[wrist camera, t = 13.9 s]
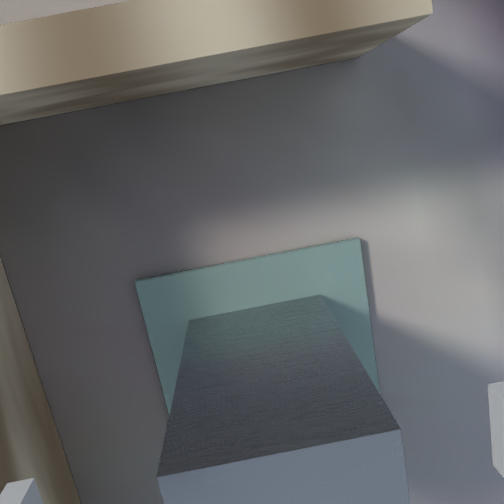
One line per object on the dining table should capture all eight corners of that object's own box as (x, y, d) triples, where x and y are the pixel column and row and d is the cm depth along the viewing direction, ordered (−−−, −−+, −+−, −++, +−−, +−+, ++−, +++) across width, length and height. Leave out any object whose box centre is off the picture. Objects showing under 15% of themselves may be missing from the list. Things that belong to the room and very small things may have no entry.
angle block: (188, 320, 21) (156, 477, 11) (320, 294, 21) (401, 429, 11) (228, 487, 23) (229, 738, 14) (347, 463, 23) (434, 697, 14)
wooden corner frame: (72, 576, 24) (13, 746, 18) (-95, 99, 18) (-281, 77, 12) (413, 510, 24) (484, 653, 18) (354, 14, 19) (427, -55, 12)
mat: (197, 519, 24) (197, 524, 24) (135, 280, 21) (134, 282, 20) (389, 481, 24) (391, 486, 24) (357, 237, 21) (359, 238, 21)
